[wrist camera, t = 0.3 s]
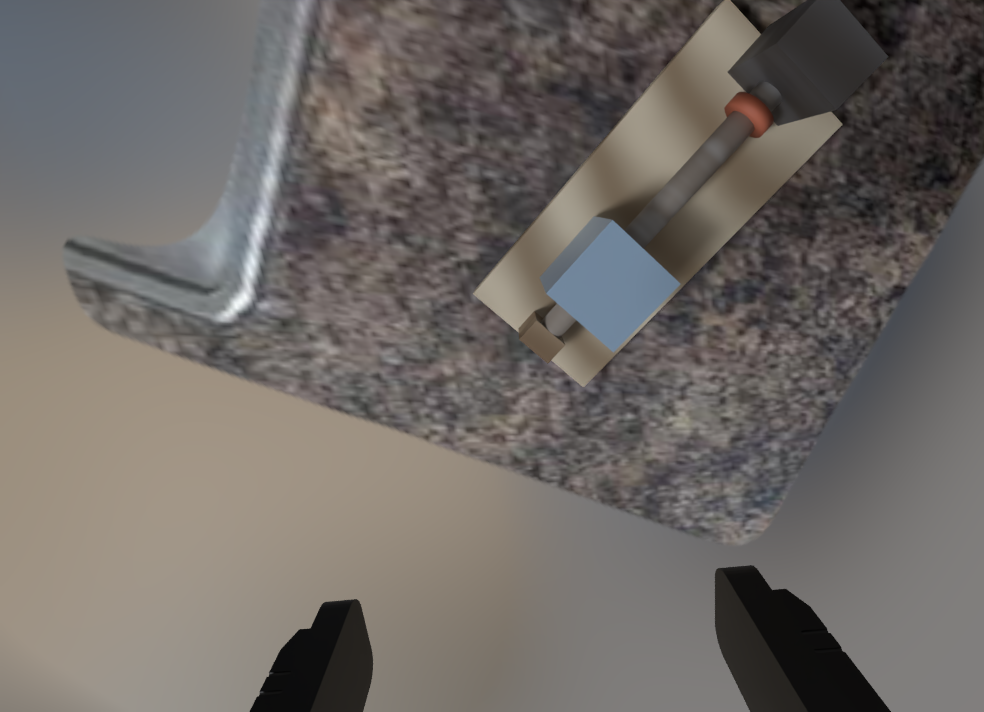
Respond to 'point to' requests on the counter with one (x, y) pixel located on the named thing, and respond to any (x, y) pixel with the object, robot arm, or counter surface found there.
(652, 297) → the blue sleeve
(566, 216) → the rail board
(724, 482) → the counter surface
